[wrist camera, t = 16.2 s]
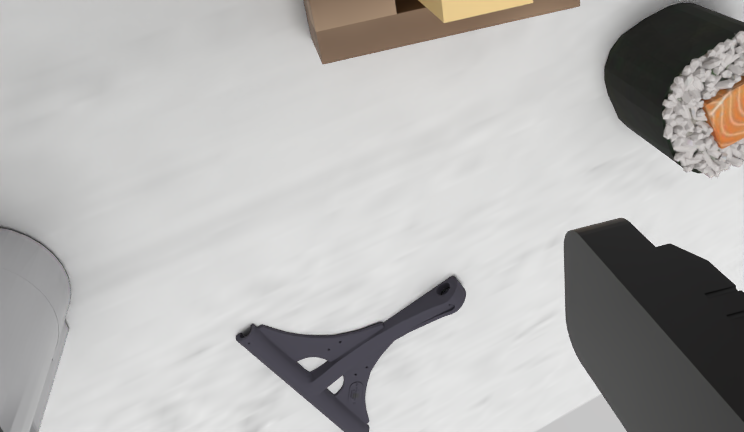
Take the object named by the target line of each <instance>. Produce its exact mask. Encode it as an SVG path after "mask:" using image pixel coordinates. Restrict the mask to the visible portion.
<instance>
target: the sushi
mask: <svg viewBox="0 0 744 432" xmlns="http://www.w3.org/2000/svg"><path fill="white" fill-rule="evenodd" d="M605 83H606V87H607V91H608V95H609V97H610V100H611V102H612V104H613V106H614V109H615V111H616V113H617V116H618V118H619V119H620V120H621V121H622V122H623V123H624V124H625V125H626V126H627V127H628V128H630V129H631V130H632V131H634V132H635V133H637V134H638V135H639V136H641V137H642V138H643V139H645V140H646V141H647V142H649V143H650V144H652V145H653V146H654V147H656V148H657V149H658V150H660V151H661V152H662V153H664V154H665V155H667V156H668V157H669V158H671V159H672V160H673V161H675V162H676V163H677V164H679V165H680V166H681V167H683V169H684V171H685V172H690V171H693V172H696V173H704V174H705V175H707V176H708V177H709V178H712V177H713V176H715V177H719V174H720V172H721V171H723V170H724V171H726V170H728V169H729V168H730V166H731V164H732V165H733V166H735V167H740V166H741V165H742V164H743V161H744V22H741V21H738V20H736V19H733V18H730V17H728V16H725V15H722V14H720V13H717V12H715V11H712V10H709V9H707V8H704V7H701V6H699V5H696V4H691V3H679V4H675V5H672V6H669V7H667V8H665V9H663V10H661V11H659V12H657V13H655V14H653V15H651V16H650V17H648V18H646V19H644V20H643V21H642V22H640V23H639V24H637V25H636V26H635V27H633V28H632V29H630V30H629V31H628V32H626V33H625V34H623V35H622V36H621V37H620V38H619V40H618V41H617V43H616V44H615V45H614V47H613V48H612V49H611V51H610V54H609V57H608V60H607V63H606V66H605ZM742 160H743V161H742Z"/></svg>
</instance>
